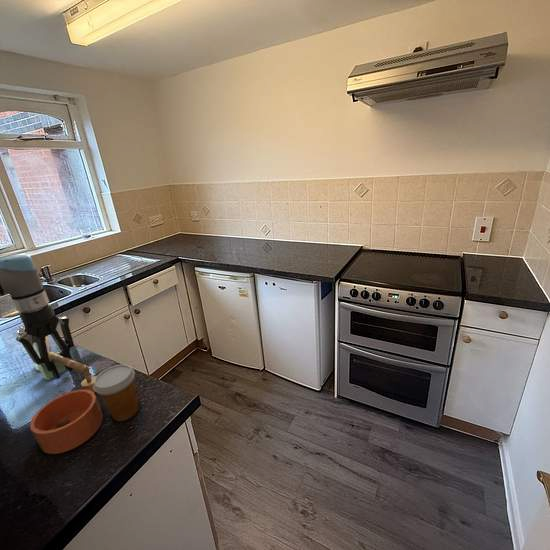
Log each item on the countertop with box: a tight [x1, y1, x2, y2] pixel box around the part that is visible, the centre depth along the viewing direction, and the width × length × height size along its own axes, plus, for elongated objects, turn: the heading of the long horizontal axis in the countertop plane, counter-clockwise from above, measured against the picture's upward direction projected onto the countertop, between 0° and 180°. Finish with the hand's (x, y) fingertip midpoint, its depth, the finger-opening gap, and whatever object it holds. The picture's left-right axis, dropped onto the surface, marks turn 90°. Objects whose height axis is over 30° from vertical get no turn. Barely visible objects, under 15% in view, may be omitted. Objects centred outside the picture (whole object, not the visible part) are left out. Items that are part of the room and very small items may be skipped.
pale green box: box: [37, 350, 67, 382], centre depth 96 cm, size 3×6×6 cm, turn 151°
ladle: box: [47, 350, 98, 393], centre depth 92 cm, size 24×4×8 cm, turn 63°
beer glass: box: [16, 325, 52, 371], centre depth 100 cm, size 7×7×15 cm
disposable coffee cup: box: [93, 364, 140, 422], centre depth 77 cm, size 10×10×12 cm
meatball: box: [56, 418, 70, 428], centre depth 74 cm, size 3×3×3 cm
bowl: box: [29, 388, 104, 455], centre depth 74 cm, size 14×14×6 cm
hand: (63, 373), depth 94 cm, fingers open, 3 cm apart
